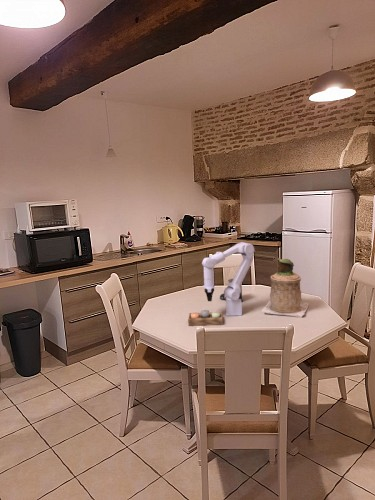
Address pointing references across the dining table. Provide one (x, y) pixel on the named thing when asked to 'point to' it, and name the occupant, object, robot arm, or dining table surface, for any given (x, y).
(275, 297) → the cookie jar
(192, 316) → the peach rounded block
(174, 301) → the dining table surface
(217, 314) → the key sage
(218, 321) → the brown wooden flat frame
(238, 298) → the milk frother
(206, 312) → the key slate
